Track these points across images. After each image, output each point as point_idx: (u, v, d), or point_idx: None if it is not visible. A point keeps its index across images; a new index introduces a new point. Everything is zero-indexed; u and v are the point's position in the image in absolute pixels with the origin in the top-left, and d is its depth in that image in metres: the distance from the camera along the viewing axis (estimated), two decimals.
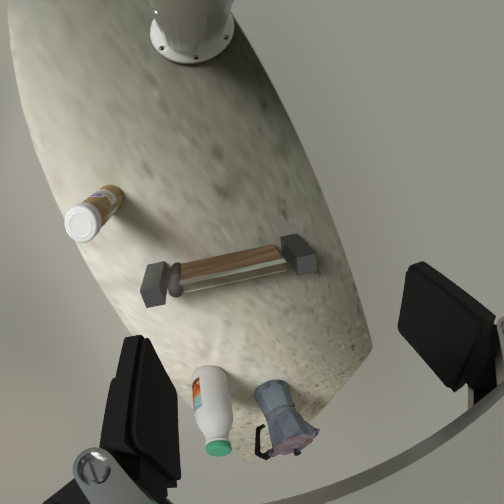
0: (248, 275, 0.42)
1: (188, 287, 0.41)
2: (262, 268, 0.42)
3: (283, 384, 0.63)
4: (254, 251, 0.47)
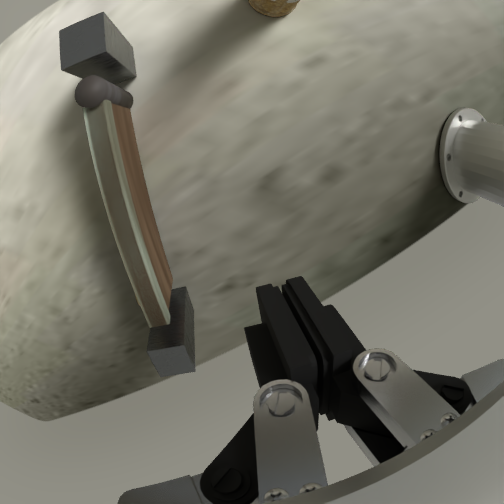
0: (130, 257, 0.17)
1: (94, 122, 0.13)
2: (149, 283, 0.18)
3: None
4: (160, 249, 0.24)
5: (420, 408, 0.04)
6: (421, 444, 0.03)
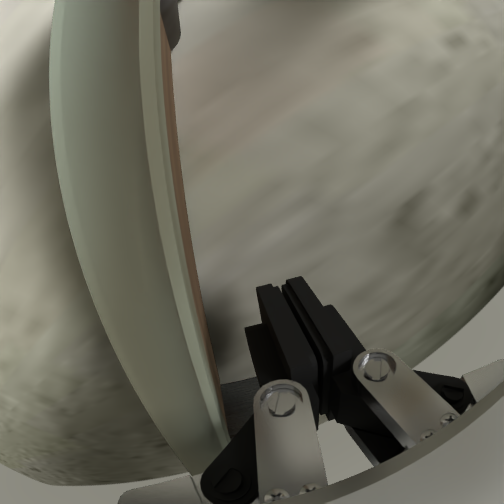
0: (185, 433, 0.06)
1: (89, 6, 0.02)
2: None
3: None
4: (209, 343, 0.12)
5: (420, 408, 0.04)
6: (421, 444, 0.03)
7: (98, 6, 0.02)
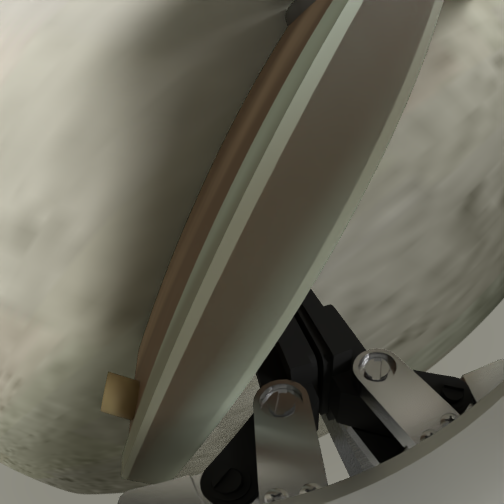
0: (187, 396, 0.05)
1: None
2: (185, 447, 0.06)
3: None
4: None
5: (420, 408, 0.04)
6: (421, 444, 0.03)
7: None
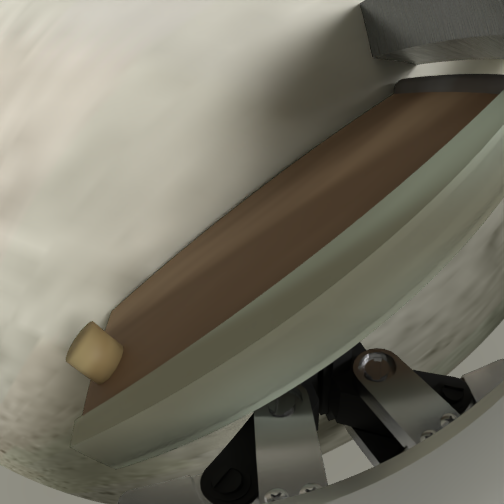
0: (253, 374, 0.05)
1: None
2: (191, 432, 0.05)
3: None
4: None
5: (420, 408, 0.04)
6: (421, 444, 0.03)
7: None
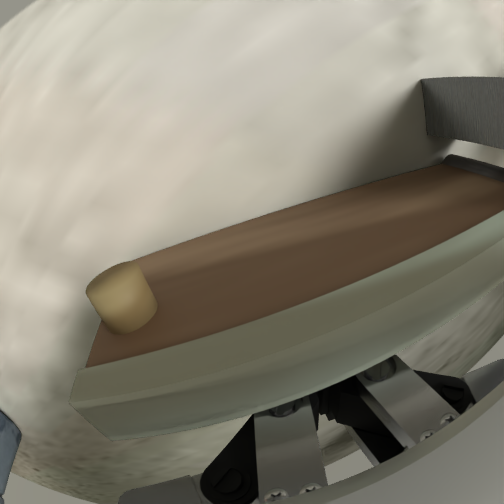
0: (353, 345, 0.05)
1: None
2: (252, 404, 0.05)
3: (18, 444, 0.14)
4: None
5: (420, 408, 0.04)
6: (421, 444, 0.03)
7: None
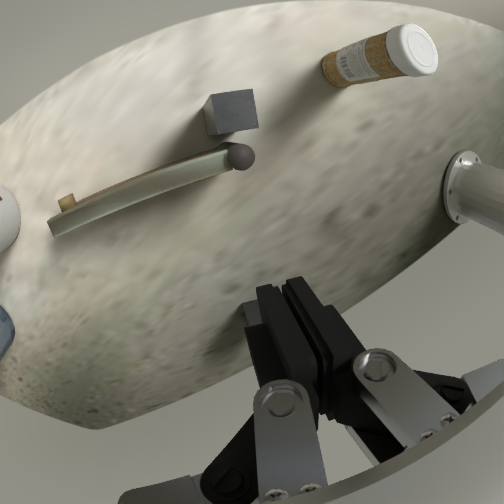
0: (105, 201, 0.19)
1: (214, 162, 0.20)
2: (85, 219, 0.19)
3: (11, 339, 0.28)
4: None
5: (420, 408, 0.04)
6: (421, 444, 0.03)
7: (214, 164, 0.20)
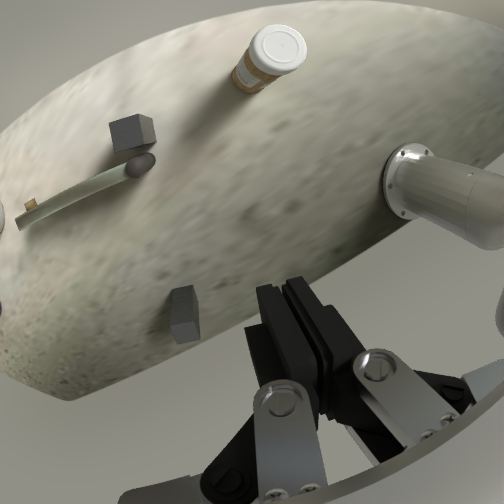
0: (49, 205, 0.24)
1: (117, 172, 0.25)
2: (38, 217, 0.24)
3: None
4: None
5: (420, 408, 0.04)
6: (421, 444, 0.03)
7: (117, 174, 0.25)
